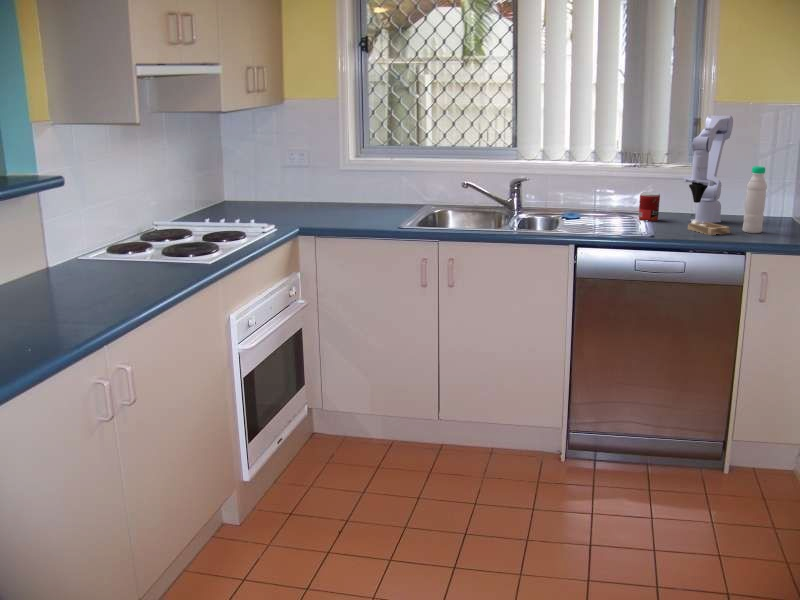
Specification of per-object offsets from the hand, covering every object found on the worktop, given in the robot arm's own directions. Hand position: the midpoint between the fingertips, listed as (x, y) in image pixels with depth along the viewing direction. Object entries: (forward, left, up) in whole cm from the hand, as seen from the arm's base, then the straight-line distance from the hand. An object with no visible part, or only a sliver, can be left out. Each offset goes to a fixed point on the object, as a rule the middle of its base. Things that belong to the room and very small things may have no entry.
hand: (696, 202), depth 345 cm
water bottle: (-13, +17, -10) cm, 24 cm away
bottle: (+3, +3, -8) cm, 9 cm away
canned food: (+6, -21, -10) cm, 24 cm away
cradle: (+2, +9, -10) cm, 14 cm away
